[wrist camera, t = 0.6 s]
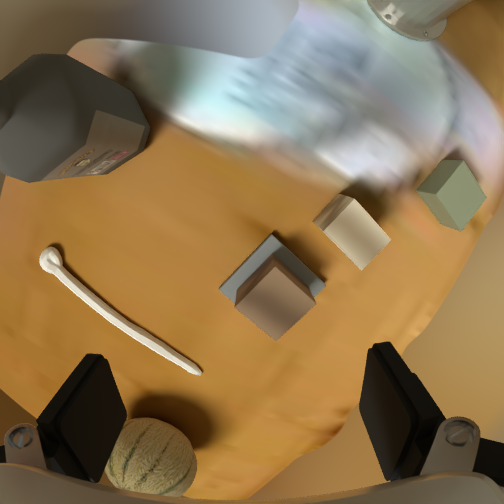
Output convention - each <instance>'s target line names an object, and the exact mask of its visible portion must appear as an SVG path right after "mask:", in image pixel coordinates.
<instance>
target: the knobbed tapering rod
mask: <svg viewBox="0 0 504 504" xmlns="http://www.w3.org/2000/svg"><path fill="white" fill-rule="evenodd" d="M40 265H41V267H42V268H43V269H44V270H45V271H47V272H49V273H53V274H54V275H56V276H57V278H58V279H59V280H60V281H61V282H63V283H64V284H65V285H66V286H67V287H68V288H69V289H70V290H71V291H73V292H74V293H75V294H76V295H77V296H78V297H80V298H81V299H82V300H83V301H85V302H86V303H87V304H88V305H89V306H91V307H92V308H93V309H94V310H96V311H97V312H98V313H99V314H101V315H102V316H103V317H104V318H106V319H107V320H108V321H109V322H111V323H112V324H114V325H115V326H117V327H118V328H119V329H121V330H122V331H124V332H125V333H127V334H128V335H130V336H131V337H133V338H134V339H136V340H137V341H139V342H141V343H142V344H144V345H146V346H147V347H149V348H150V349H152V350H154V351H155V352H157V353H158V354H160V355H162V356H164V357H165V358H167V359H169V360H170V361H172V362H174V363H176V364H177V365H179V366H181V367H182V368H184V369H185V370H187V371H188V372H190V373H192V374H195V375H201V374H202V371H201V370H200V369H199V368H198V366H197V365H196V364H194V363H193V362H191V361H190V360H188V359H187V358H185V357H184V356H182V355H180V354H179V353H177V352H176V351H174V350H173V349H172V348H170V347H169V346H168V345H166V344H165V343H164V342H162V341H160V340H159V339H157V338H155V337H154V336H152V335H151V334H149V333H148V332H147V331H145V330H144V329H142V328H140V327H138V326H136V325H135V324H133V323H131V322H129V321H128V320H127V319H125V318H124V317H123V316H121V315H120V314H119V313H117V312H116V311H115V310H113V309H112V308H111V307H110V306H108V305H107V304H106V303H105V302H103V301H102V300H101V299H100V298H99V297H97V296H96V295H95V294H94V293H92V292H91V291H90V290H89V289H88V288H86V287H85V286H84V285H83V284H82V283H81V282H79V281H78V280H77V279H76V278H75V277H74V276H73V275H71V274H70V273H69V272H68V271H67V270H66V269H65V268H64V267H63V266H62V265H63V261H62V257H61V255H60V253H59V251H58V250H57V249H56V248H54V247H51V246H50V247H48V248H46V249H45V250H44V251H43V252H42V253H41V255H40Z"/></svg>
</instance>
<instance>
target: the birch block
mask: <svg viewBox="0 0 504 504" xmlns="http://www.w3.org/2000/svg"><path fill="white" fill-rule="evenodd" d="M312 222H313V223H314V224H315V225H317V226H318V227H319V228H320V229H321V230H322V231H323V232H324V233H325V234H326V235H327V236H328V237H329V238H330V239H331V241H332V242H333V243H334V244H335V245H336V246H337V247H338V248H339V249H340V250H341V251H342V252H343V253H344V254H345V255H346V256H347V257H348V258H349V259H350V260H351V261H352V262H353V263H354V264H355V265H356V266H357V267H358V268H359V269H360V270H361V271H362V270H363V269H364V268H365V267H366V266H367V265H368V264H369V263H370V262H371V261H372V260H373V258H374V257H375V256H376V255H377V254H378V253H379V252H380V251H381V250H382V249H383V248H384V247H385V246H386V245H387V244H388V243H389V242H390V240H391V239H390V238H389V237H388V236H387V234H386V233H385V232H384V231H383V230H382V229H381V228H380V226H379V225H378V224H377V223H376V222H375V221H374V220H373V218H372V217H371V216H370V215H369V214H368V213H367V212H366V211H365V209H364V208H363V207H362V206H361V205H360V204H359V203H358V202H357V201H356V200H355V199H354V198H351V197H348V196H345V195H342V194H338V195H337V196H336V197H335V198H334V199H333V200H332V201H331V202H330V203H329V204H328V205H327V206H326V207H325V208H324V209H323V210H322V212H321V213H320V214H319V215H318V216H317V217H316V218H315V219H314V220H313V221H312Z"/></svg>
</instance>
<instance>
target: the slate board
mask: <svg viewBox="0 0 504 504" xmlns="http://www.w3.org/2000/svg"><path fill="white" fill-rule="evenodd" d="M272 253H273V254H274V255H275V256H276V257H277V258H278V259H279V260H280V261H281V262H282V263H283V264H285V265H286V266H287V267H288V268H289V269H290V270H291V271H292V272H293V273H294V274H296V275H297V276H298V277H299V278H300V279H301V280H302V281H303V282H304V283H305V284H306V285H307V286H309V289H310V291H311V293H312V295H313V297H315V296H316V295H317V294H318V293H319V292H320V291H321V290H322V289H323V288H324V287H325V286H326V285H325V283H324V282H323V281H322V280H321V279H320V278H319V277H318V276H317V275H316V274H314V273H313V272H312V271H311V270H310V269H309V268H308V267H307V266H306V265H305V264H304V263H303V262H302V261H301V260H300V259H299V258H298V257H296V256H295V255H294V254H293V253H292V252H291V251H290V250H289V249H288V248H287V247H286V246H285V245H284V244H283V243H281V242H280V241H279V240H278V239H277V238H276V237H275V236H274V235H273V234H272V233H271V234H270V235H269V236H268V237H267V238H266V239H265V240H264V241H263V242H262V243H261V244H260V245H259V246H258V247H257V248H256V250H255V251H254V252H253V253H252V254H251V255H250V256H249V257H248V258H247V259H246V260H245V261H244V262H243V263H242V264H241V265H240V266H239V267H238V268H237V269H236V270H235V271H234V272H233V273H232V274H231V276H230V277H229V278H228V279H227V280H226V281H225V282H224V283H223V284H222V285H221V286H220V287H219V291H221V292H222V293H223V294H224V295H225V296H227V297H228V298H229V299H230V300H231V301H233V302H234V303H235V299H236V291H237V289H238V288H239V287H240V286H241V285H242V284H243V283H244V282H245V281H246V279H247V278H248V277H249V276H250V275H251V274H252V273H253V272H254V271H255V270H256V269H257V268H258V267H259V266H260V265H261V264H262V263H263V262H264V261H265V260H266V259H267V258H268V257H269V256H270V255H271V254H272Z"/></svg>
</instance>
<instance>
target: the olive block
mask: <svg viewBox="0 0 504 504" xmlns="http://www.w3.org/2000/svg"><path fill="white" fill-rule="evenodd" d="M416 192H417V193H418V194H419V195H420V197H421V198H422V199H423V201H424V202H425V203H426V205H427V206H428V207H429V209H430V210H431V212H432V213H433V214H434V216H435V217H436V219H437V220H438V221H439V223H440V224H442V225H444V226H447V227H450V228H453V229H455V230H458V231H462V230H463V228H464V227H465V226H466V224H467V223H468V222H469V221H470V219H471V218H472V217H473V215H474V214H475V213H476V211H477V210H478V209H479V207H480V206H481V205H482V203H483V202H484V201H485V199H486V196H485V194H484V192H483V191H482V189H481V187H480V186H479V184H478V182H477V181H476V179H475V177H474V176H473V174H472V172H471V171H470V169H469V168H468V166H467V165H466V163H465V162H464V160H442V161H441V162H440V163H439V164H438V165H437V167H436V168H435V169H434V170H433V171H432V173H431V174H430V175H429V176H428V177H427V178H426V180H425V181H424V182H423V183H422V184H421V185H420V187H419V188H418V189H417V190H416Z"/></svg>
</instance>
